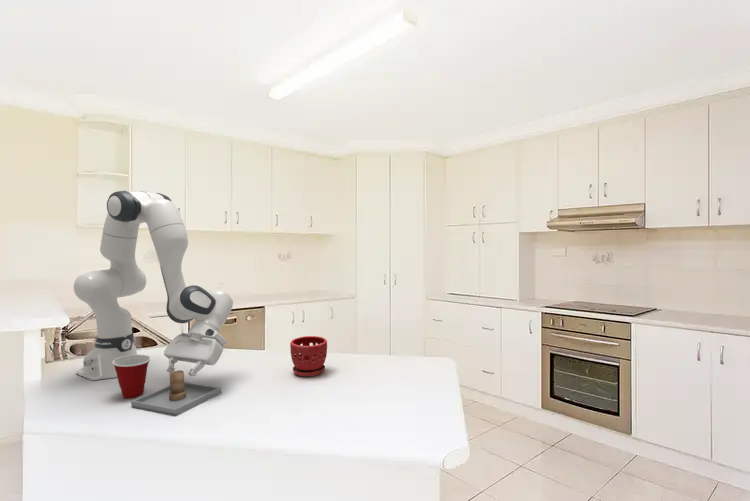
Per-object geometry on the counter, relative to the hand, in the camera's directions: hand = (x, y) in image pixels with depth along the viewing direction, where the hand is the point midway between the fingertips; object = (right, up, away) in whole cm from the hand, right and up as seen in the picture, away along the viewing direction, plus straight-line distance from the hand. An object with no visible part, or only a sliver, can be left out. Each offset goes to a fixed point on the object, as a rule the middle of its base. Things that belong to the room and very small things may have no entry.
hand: (179, 373), depth 135 cm
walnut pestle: (0, -7, -1) cm, 7 cm away
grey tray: (0, -8, -1) cm, 8 cm away
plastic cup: (-17, -8, +4) cm, 19 cm away
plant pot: (+38, -6, +21) cm, 43 cm away
